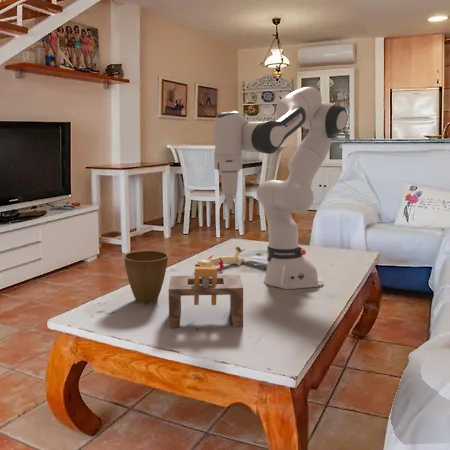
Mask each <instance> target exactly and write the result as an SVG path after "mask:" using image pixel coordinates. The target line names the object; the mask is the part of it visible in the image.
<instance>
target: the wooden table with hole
mask: <svg viewBox="0 0 450 450" xmlns="http://www.w3.org/2000/svg"><path fill="white" fill-rule="evenodd" d="M194 284H195V275H170V279H169V284H168V285H169V286H168V322H169V325H168V326H169V329H180V327H181V319H182V318H181V316H182V299H181V298H182V296H183V297H184V296H194V295H199V296H212V295H216V296H222V295H223V296H228V295H229V296H230V297H229V299H230V301H229V303H230V304H229V305H230V317H231V320H232V321H231V322H232V327H235V328H237V327H244V285H243V282H242V279H241V275H240V274H217V285H212V277H199V285H194Z"/></svg>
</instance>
